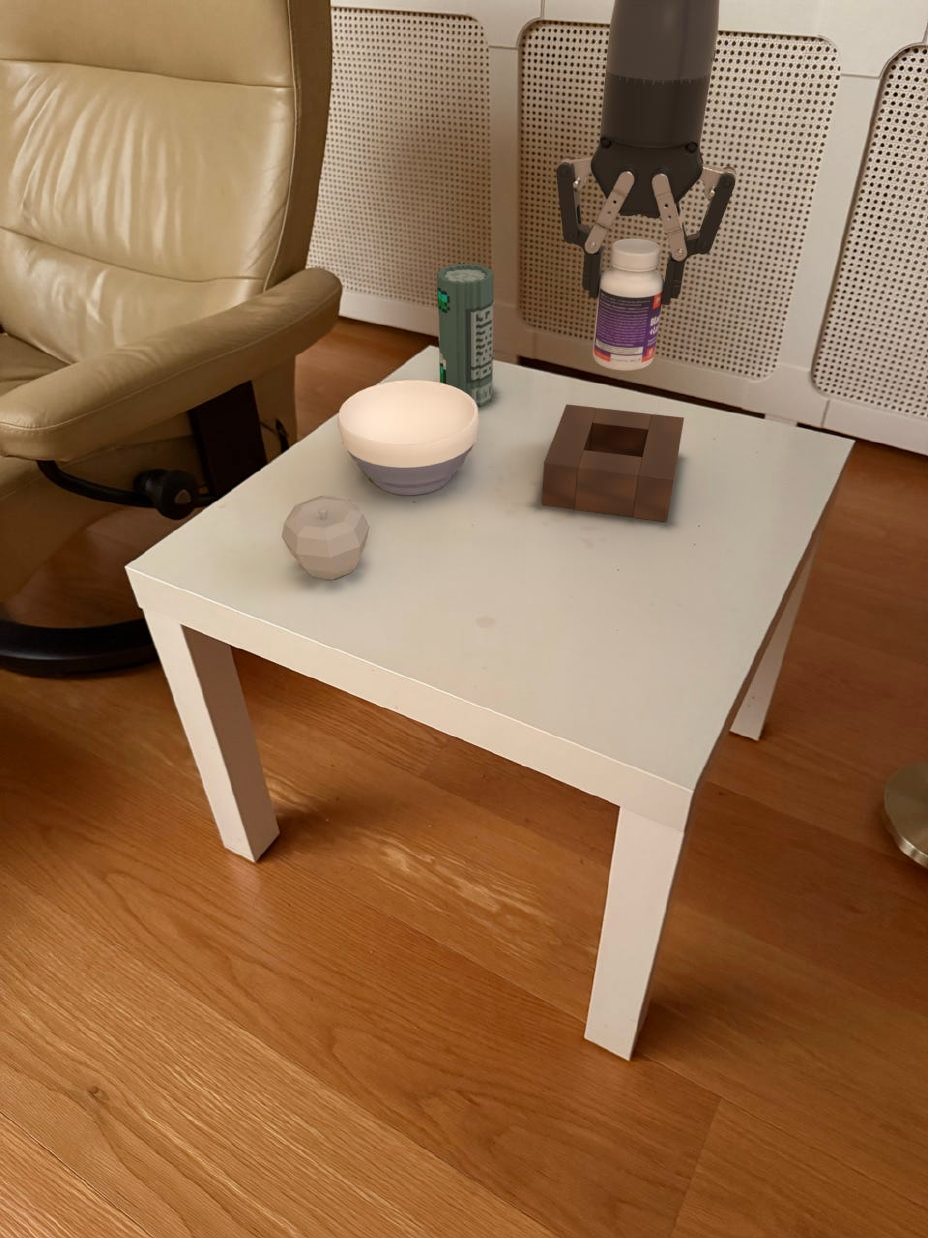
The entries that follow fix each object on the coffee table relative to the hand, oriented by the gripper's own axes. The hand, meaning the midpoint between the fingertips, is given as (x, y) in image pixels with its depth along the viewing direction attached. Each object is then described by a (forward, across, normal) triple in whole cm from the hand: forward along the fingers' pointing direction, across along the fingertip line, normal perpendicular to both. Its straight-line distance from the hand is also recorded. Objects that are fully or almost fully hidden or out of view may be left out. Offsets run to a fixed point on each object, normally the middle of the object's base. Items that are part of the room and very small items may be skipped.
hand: (630, 297), depth 74 cm
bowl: (+22, -21, +3) cm, 31 cm away
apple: (+22, -24, -15) cm, 36 cm away
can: (+23, -20, +22) cm, 37 cm away
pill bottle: (+6, 0, 0) cm, 6 cm away
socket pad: (+22, 0, +6) cm, 23 cm away
